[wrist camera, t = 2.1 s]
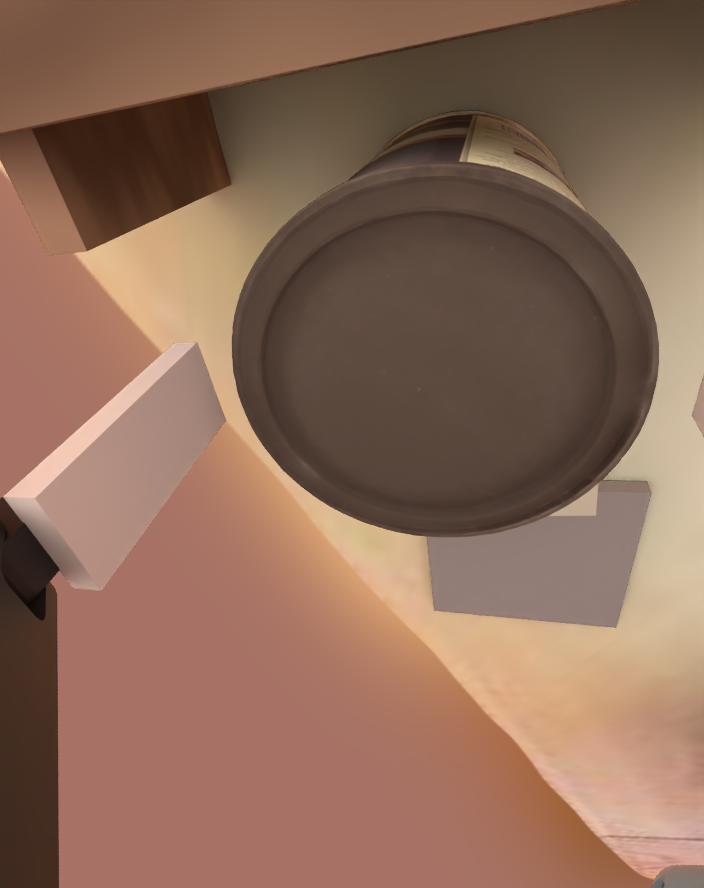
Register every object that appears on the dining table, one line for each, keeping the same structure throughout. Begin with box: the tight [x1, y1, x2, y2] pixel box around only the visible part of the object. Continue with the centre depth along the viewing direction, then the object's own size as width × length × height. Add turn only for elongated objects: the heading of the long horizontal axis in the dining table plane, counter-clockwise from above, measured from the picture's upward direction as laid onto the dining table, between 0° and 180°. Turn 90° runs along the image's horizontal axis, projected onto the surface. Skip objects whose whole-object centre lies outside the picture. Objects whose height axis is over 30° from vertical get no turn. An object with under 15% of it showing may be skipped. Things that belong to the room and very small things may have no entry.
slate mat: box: [427, 481, 651, 628], centre depth 34 cm, size 13×13×1 cm
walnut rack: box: [0, 0, 641, 256], centre depth 14 cm, size 6×25×12 cm, turn 99°
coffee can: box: [232, 111, 659, 537], centre depth 18 cm, size 10×10×14 cm
